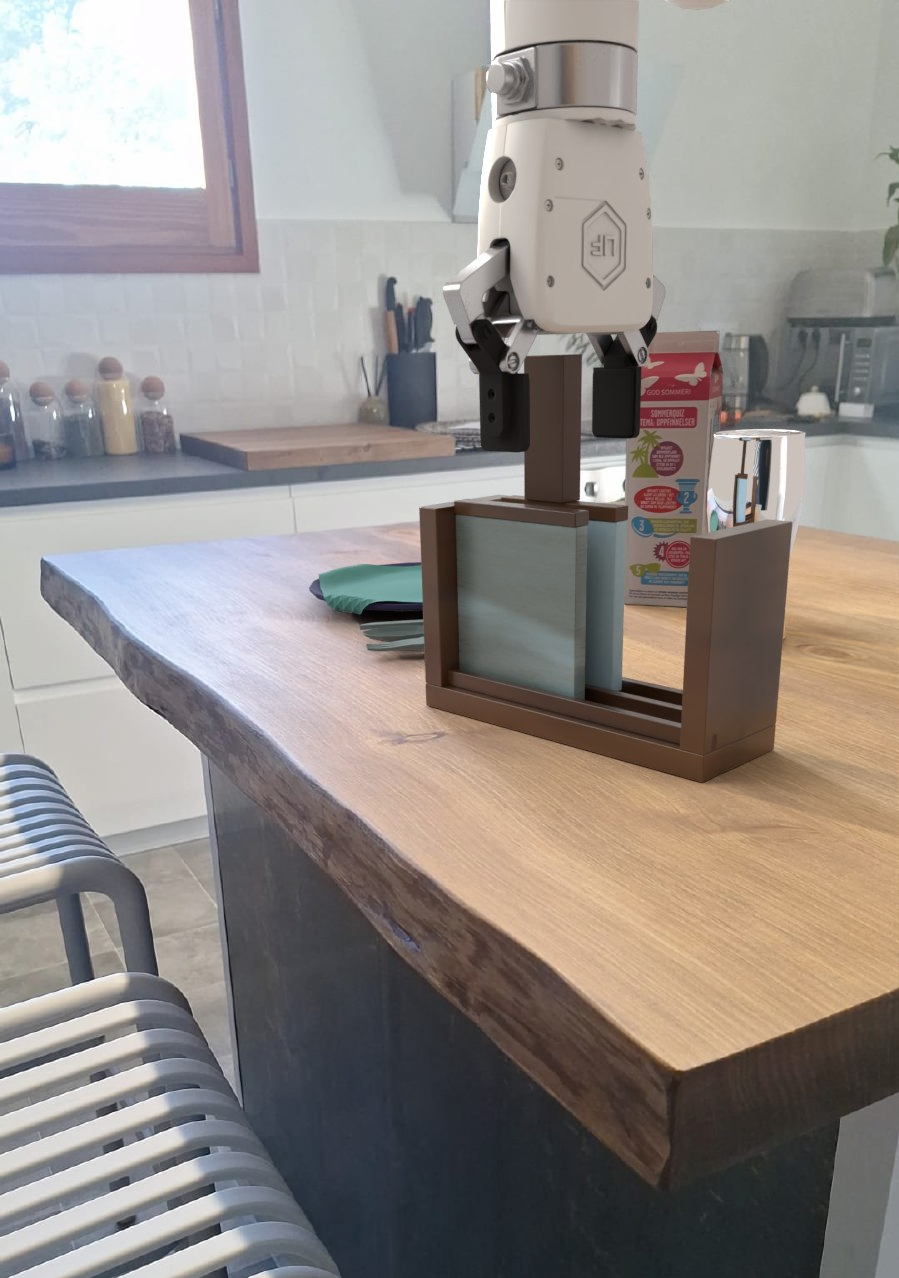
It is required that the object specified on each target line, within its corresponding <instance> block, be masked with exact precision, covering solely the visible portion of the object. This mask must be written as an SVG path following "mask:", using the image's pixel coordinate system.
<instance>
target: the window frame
mask: <svg viewBox="0 0 899 1278" xmlns="http://www.w3.org/2000/svg"><path fill="white" fill-rule="evenodd" d="M505 496H508V495H506V494H494V495H486V496H480V497H475V498H462V499H455V500H454V501H448V502H442V503H434V504H427V505H421V506H419V507H418V508H419V509H418V512H419V514H418V516H419V541H420V543H419V544H420V562H421V572H422V599H423V611H422V620H423V626H424V650H423V651H424V677H425V678H424V679H425V705H426V706H428V707H431V708H435V709H438V710H442V711H446V712H448V713H453V714H456V715H460V716H463V717H467V718H470V719H472V720H473V719H474V720H478V721H481V722H484V723H488V724H491V725H496V726H499V727H502V728H507V729H510V730H514V731H516V732H520V733H523V734H527V735H531V736H534V737H537V738H541V739H544V740H549V741H553V742H556V743H559V744H563V745H567V746H570V747H573V748H577V749H581V750H584V751H587V752H592V753H594V754H599V755H603V756H606V757H610V758H612V759H617V760H620V761H624V762H627V763H631V764H635V765H638V766H641V767H645V768H649V769H652V770H655V771H658V772H663V773H665V774H670V775H674V776H677V777H681V778H684V779H687V780H692V781H695V782H698V783H704V782H706V781H709V780H711V779H713V778H715V777H717V776H719V775H722V774H724V773H726V772H728V771H730V770H732V769H734V768H737V767H739V766H741V765H744V764H745V763H747V762H750V761H752V760H754V759H756V758H758V757H761V756H763V755H765V754H767V753H769V752H771V751H773V750H774V749H775V738H776V728H777V727H776V726H777V725H776V724H777V714H778V705H779V704H778V703H779V692H780V691H779V690H780V679H781V678H780V677H781V667H782V666H781V665H782V654H783V641H784V639H783V631H784V620H785V616H786V605H787V593H788V583H789V570H790V569H789V568H790V561H789V558H790V546H791V533H792V522H791V521H780V520H769V519H767V520H762V521H758V522H753V523H749V524H744V525H740V526H735V527H731V528H726V529H722V530H717V531H713V532H708V533H704V534H699V535H694V536H691V537H690V557H689V577H688V597H687V607H686V621H685V639H684V658H683V659H684V661H683V681H682V689H679V688H675V687H671V686H666V685H661V684H657V683H653V682H647V681H642V680H638V679H634V678H630V677H625V676H622V689H621V690H620V691H614V690H610V689H606V688H601V687H597V686H593V685H588V684H585V644H586V585H587V525H588V524H589V511H588V510H579V509H569V508H559V507H548V506H538V505H528V504H518V503H507V502H501V497H505ZM790 559H791V558H790Z"/></svg>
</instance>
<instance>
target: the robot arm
mask: <svg viewBox="0 0 899 1278" xmlns="http://www.w3.org/2000/svg"><path fill="white" fill-rule="evenodd" d="M663 1H664V2H666V3H667V4H669V5H671V6H674V7H677V8H680V9H683V10H693V11H699V10H707V9H712V8H715V7H719V6H721V5H723V4H726V3H728V2H731V0H663ZM639 10H640V0H490V52H491V65H489V68H488V69H487V72H486V76H485V84H486V89H487V90H488V91H489V93H491V106H492V107H491V115H492V116H491V117H492V120H491V121H492V128H490V129H488V131H487V138H486V142H485V143H486V144H485V148H484V149H485V150H484V156H483V165H482V172H481V173H482V174H481V182H480V183H481V184H480V192H479V193H480V195H479V209H478V224H477V226H478V227H477V228H478V229H477V258H476V259H474V260H473V261H472V262H470V263H469V264H468V265H467V266H465V267H464V268H463V269H461V270H460V271H459V272H458V273H457V274H455V275H454V276H453V277H452V278H450V279H449V280H447V282H445V284H444V285H443V288H442V295H443V299H444V301H445V304H446V307H447V309H448V313H449V314H450V317H451V320H452V323H453V325H456V326H455V331H454V332H455V339H456V341H457V343H458V344H459V345H460V347H461V348H462V350H463V351H464V353H465V354H466V355H467V357H468V359H469V360H468V366H469V369H470V371H471V372H472V373H473V374H474V375H478V389H479V394H478V395H479V397H478V398H479V434H480V435H479V437H480V438H479V439H480V442H479V443H480V447H481V449H482V450H483V451H484V452H499V453H524V452H525V451H527V450H528V448H529V446H530V380H529V373H524V372H519V371H520V369H521V368H522V365H524V360H525V358H526V356H528V354H529V352H530V350H531V349H532V346H533V344H534V342H535V340H536V338H537V337H538V336H541V335H542V336H543V335H544V336H545V335H573V334H574V335H575V334H576V335H577V334H586V336H587V338H588V340H589V342H590V343H591V346H592V348H593V350H594V352H595V354H596V356H597V358H598V360H599V362H600V364H601V365H602V366H594V367H592V391H591V392H592V396H591V397H592V398H591V400H592V401H591V402H592V403H591V405H592V406H591V433H592V436H593V437H595V438H601V439H625V440H626V439H630V438H636V437H638V435H639V433H640V406H641V369H642V366H644V365H645V364H646V363H647V361H648V358H649V351H648V347H649V345H650V343H651V342H652V340H653V338H654V337H655V335H656V333H658V322H657V321H658V320H659V317H660V313H661V310H662V307H663V304H664V301H665V298H666V287H665V285H664V284H663V283H662V281H661V280H659V279H658V278H657V276H656V275H654V250H653V249H654V247H653V246H654V244H653V243H654V242H653V241H654V240H653V219H652V217H653V215H652V199H651V197H652V196H651V186H650V176H649V169H648V161H647V153H646V149H645V141H644V137H643V132H641V131H638V130H636V129H637V107H638V106H637V105H638V70H639V69H638V67H639V66H638V65H639V64H638V63H639V62H638V61H639V55H638V52H639V19H640V17H639V15H640V11H639ZM612 335H616V336H615V337H613V336H612ZM506 339H507V340H506ZM638 366H641V367H638Z"/></svg>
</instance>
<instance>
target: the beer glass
mask: <svg viewBox="0 0 899 1278" xmlns="http://www.w3.org/2000/svg"><path fill="white" fill-rule="evenodd" d="M806 434H807V433H806V431H802V430H797V429H773V428H772V429H769V428H768V429H767V428H766V429H759V428H758V429H757V428H756V429H734V430H733V429H731V430H720V432H715V433H713V434H712V444H711V451H710V458H709V466H708V474H707V486H706V524H707V533H708V532H713V531H717V530H722V529H726V528H731V527H735V526H740V525H744V524H749V523H753V522H758V521H762V520H767V519H769V520H780V521H791V522H792V533H791V546H790V558H789V562H790V561H791V558H792V554H793V550H794V546H795V542H796V537H797V533H798V529H799V525H800V520H801V515H802V511H803V504H804V503H803V502H804V493H805V477H806ZM786 631H787V630H786V620H785V619H784V631H783V640H784V639H785V638H786V634H787V632H786Z"/></svg>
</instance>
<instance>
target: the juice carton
mask: <svg viewBox="0 0 899 1278" xmlns="http://www.w3.org/2000/svg"><path fill="white" fill-rule="evenodd" d="M720 332H721V331H720V330H718V331H717V330H698V331H697V330H695V331H668V332H667V331H666V332H665V331H664V332H656V335H655V337H654V338H653V340H652V342H651V343H650V345H649V347H648V351H649V358H648V361H647V363H646V364H645V365H644V366H642V369H641V406H640V433H639V435H638V437H636V438H630V439H626V438H625V441H626V442H625V475H624V477H625V478H624V505H628V520H626V522H627V523H626V557H625V591H624V605H636V606H637V605H638V606H654V607H655V606H656V607H673V608H674V607H676V608H687V597H688V577H689V557H690V537H691V536H694V535H699V534H704V533H707V524H706V486H707V474H708V466H709V458H710V451H711V444H712V434H713V433H715V432H720V431H721V423H722V422H721V421H722V406H723V386H724V369H723V365H722V364H723V363H722V361H721V356H720V353H719V351H720V335H721V333H720ZM638 367H641V366H638Z"/></svg>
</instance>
